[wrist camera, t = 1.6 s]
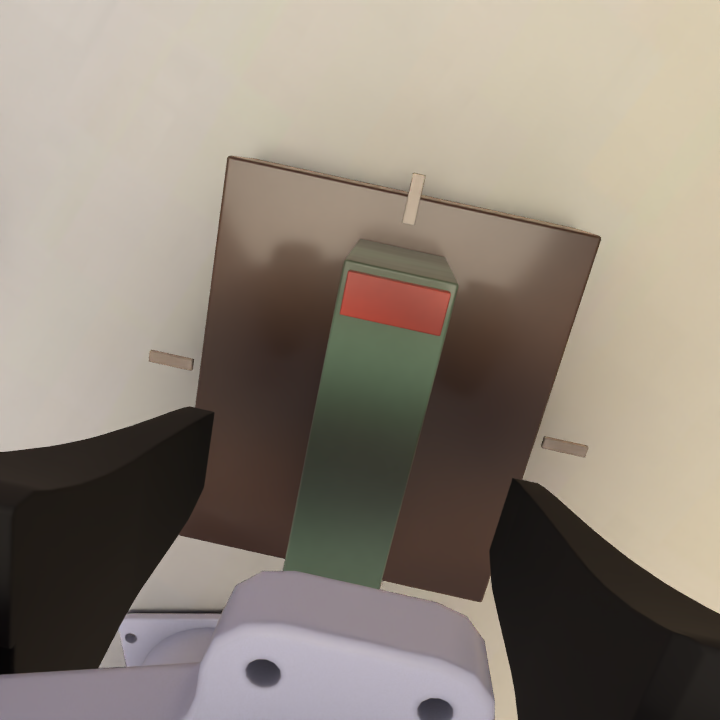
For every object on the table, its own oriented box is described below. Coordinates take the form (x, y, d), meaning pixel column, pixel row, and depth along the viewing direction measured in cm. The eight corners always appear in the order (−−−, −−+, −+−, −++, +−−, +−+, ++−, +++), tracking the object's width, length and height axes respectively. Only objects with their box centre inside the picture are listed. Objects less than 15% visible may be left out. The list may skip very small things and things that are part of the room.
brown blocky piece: (507, 573, 24) (522, 630, 21) (164, 497, 24) (130, 543, 21) (627, 220, 20) (668, 228, 16) (208, 129, 20) (172, 120, 17)
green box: (374, 543, 20) (365, 648, 16) (300, 526, 20) (271, 626, 16) (446, 257, 17) (460, 285, 13) (359, 238, 17) (343, 260, 13)
